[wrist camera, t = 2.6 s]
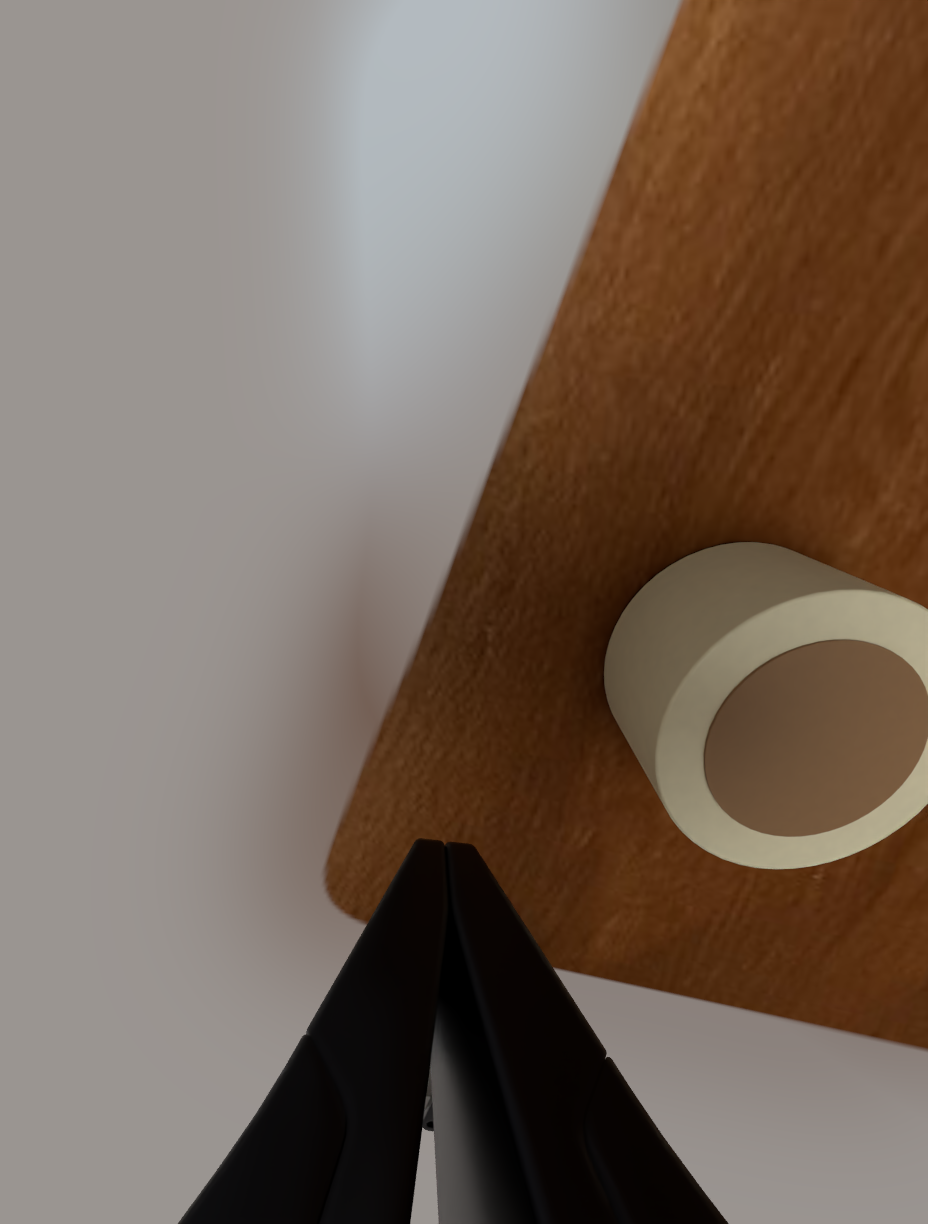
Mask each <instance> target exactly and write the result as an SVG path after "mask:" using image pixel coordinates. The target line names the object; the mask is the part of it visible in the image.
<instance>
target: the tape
mask: <svg viewBox="0 0 928 1224" xmlns="http://www.w3.org/2000/svg"><path fill="white" fill-rule="evenodd" d="M604 684H605V691H606V696H607V701H608V704H609V706H610V709H611V712H612V714H613V716H614V718H615V720H616V721H617V723H618V725H619V727H620V729H621V730H622V732H623V734H624V736H625V738H626V739H627V741H628V743H629V745H630V746H631V748H632V750H633V752H634V754H635V755H636V757H637V759H638V761H639V762H640V764H641V766H642V768H643V770H644V771H645V773H646V775H647V777H648V778H649V780H650V782H651V784H652V786H653V787H654V789H655V791H656V793H657V794H658V796H659V798H660V800H661V802H662V803H663V805H664V807H665V809H666V810H667V812H668V814H669V816H670V818H671V819H672V820H673V821H674V823H675V824H676V825H677V827H678V828H679V829H680V830H681V831H682V832H683V833H684V834H685V835H686V836H687V837H688V838H689V839H690V840H691V841H693V842H694V843H695V844H697V845H698V846H700V847H701V848H703V849H704V850H706V851H707V852H709V853H711V854H714V855H716V856H718V857H720V858H722V859H724V860H727V861H730V862H733V863H737V864H740V865H745V866H750V867H755V868H766V869H794V868H802V867H809V866H815V865H819V864H823V863H827V862H832V861H835V860H837V859H840V858H843V857H846V856H849V855H852V854H854V853H856V852H859V851H861V850H863V849H865V848H868V847H870V846H871V845H873V844H875V843H877V842H879V841H880V840H882V839H884V838H886V837H887V836H889V835H890V834H892V833H893V832H895V831H896V830H897V829H899V828H900V827H902V826H903V825H904V824H906V823H907V822H908V821H909V820H910V819H912V818H913V817H914V816H915V815H916V814H918V813H919V812H920V811H921V810H922V809H923V808H924V807H925V806H926V805H927V804H928V609H926V608H925V607H923V606H922V605H920V604H918V603H915V602H913V601H911V600H909V599H906V598H904V597H902V596H900V595H897V594H895V593H892V592H890V591H888V590H885V589H883V588H880V587H878V586H876V585H873V584H871V583H869V582H866V581H864V580H861V579H859V578H857V577H854V576H852V575H849V574H847V573H845V572H842V571H840V570H838V569H835V568H833V567H830V566H828V565H826V564H823V563H821V562H819V561H816V560H814V559H811V558H809V557H807V556H804V555H802V554H799V553H797V552H795V551H792V550H790V549H787V548H784V547H780V546H777V545H773V544H766V543H758V542H738V543H730V544H723V545H718V546H715V547H711V548H707V549H704V550H701V551H699V552H696V553H694V554H691V555H688V556H686V557H684V558H683V559H681V560H679V561H677V562H675V563H673V564H671V565H670V566H669V567H667V568H666V569H664V570H663V571H661V572H660V573H658V574H657V575H656V576H655V577H654V578H652V579H651V580H650V581H649V582H648V583H647V584H646V585H644V586H643V588H642V589H641V590H640V591H639V592H638V593H637V594H636V595H635V596H634V598H633V599H632V600H631V601H630V603H629V604H628V606H627V607H626V609H625V610H624V611H623V613H622V615H621V616H620V618H619V620H618V622H617V624H616V626H615V628H614V631H613V633H612V636H611V638H610V641H609V644H608V648H607V653H606V657H605V666H604Z"/></svg>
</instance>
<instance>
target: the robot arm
mask: <svg viewBox="0 0 928 1224" xmlns="http://www.w3.org/2000/svg"><path fill="white" fill-rule="evenodd" d="M605 1057H606V1050H605V1048H604V1047H603V1045H602V1044H601V1042H600V1040H599V1039H598V1037H597V1036H596V1034H595V1033H594V1031H593V1030H592V1028H591V1026H590V1025H589V1023H588V1022H587V1020H586V1019H585V1017H584V1016H583V1014H582V1013H581V1011H580V1009H579V1008H578V1006H577V1005H576V1003H575V1002H574V1000H573V998H572V997H571V995H570V994H569V992H568V991H567V989H566V988H565V986H564V985H563V983H562V981H561V980H560V978H559V977H558V975H557V974H556V972H555V970H554V969H553V967H552V966H551V964H550V963H549V961H548V960H547V958H546V957H545V955H544V953H543V952H542V950H541V949H540V947H539V946H538V944H537V943H536V941H535V939H534V938H533V936H532V935H531V933H530V932H529V930H528V929H527V927H526V925H525V924H524V922H523V921H522V919H521V918H520V916H519V915H518V913H517V911H516V910H515V908H514V907H513V905H512V904H511V902H510V901H509V899H508V897H507V896H506V894H505V893H504V891H503V890H502V888H501V887H500V885H499V883H498V882H497V880H496V879H495V877H494V876H493V874H492V873H491V871H490V869H489V868H488V866H487V865H486V863H485V862H484V860H483V859H482V857H481V855H480V854H479V852H478V851H477V849H476V848H475V847H474V846H473V845H472V844H468V843H459V842H447V843H446V844H445V845H444V843H443V842H442V841H440V840H432V839H422V838H419V839H417V840H416V841H415V842H414V844H413V845H412V847H411V849H410V851H409V852H408V854H407V856H406V858H405V859H404V861H403V863H402V865H401V866H400V868H399V870H398V872H397V873H396V875H395V877H394V879H393V880H392V882H391V884H390V886H389V887H388V889H387V891H386V893H385V894H384V896H383V898H382V900H381V901H380V903H379V905H378V906H377V908H376V910H375V912H374V913H373V915H372V917H371V919H370V920H369V922H368V924H367V926H366V927H365V929H364V931H363V933H362V934H361V936H360V938H359V940H358V941H357V943H356V945H355V947H354V949H353V950H352V952H351V954H350V955H349V957H348V959H347V961H346V962H345V964H344V966H343V968H342V969H341V971H340V973H339V975H338V976H337V978H336V980H335V981H334V983H333V985H332V987H331V989H330V990H329V992H328V994H327V995H326V997H325V999H324V1001H323V1002H322V1004H321V1006H320V1008H319V1009H318V1011H317V1013H316V1015H315V1017H314V1018H313V1020H312V1022H311V1023H310V1025H309V1027H308V1029H307V1032H306V1035H304V1036H303V1037H302V1038H301V1040H300V1042H299V1043H298V1045H297V1047H296V1049H295V1051H294V1052H293V1054H292V1056H291V1057H290V1059H289V1061H288V1063H287V1064H286V1066H285V1068H284V1070H283V1071H282V1073H281V1074H280V1076H279V1077H278V1079H277V1081H276V1083H275V1084H274V1086H273V1087H272V1089H271V1090H270V1092H269V1094H268V1095H267V1097H266V1099H265V1100H264V1102H263V1103H262V1105H261V1107H260V1108H259V1110H258V1111H257V1113H256V1115H255V1116H254V1117H253V1119H252V1120H251V1122H250V1123H249V1125H248V1126H247V1128H246V1129H245V1131H244V1132H243V1133H242V1135H241V1136H240V1138H239V1139H238V1141H237V1142H236V1144H235V1145H234V1146H233V1148H232V1149H231V1151H230V1152H229V1154H228V1155H227V1157H226V1158H225V1159H224V1161H223V1162H222V1164H221V1165H220V1167H219V1168H218V1169H217V1171H216V1172H215V1174H214V1175H213V1176H212V1178H211V1179H210V1181H209V1182H208V1183H207V1185H206V1186H205V1187H204V1189H203V1190H202V1191H201V1193H200V1194H199V1196H198V1197H197V1198H196V1200H195V1201H194V1202H193V1204H192V1205H191V1206H190V1208H189V1209H188V1211H187V1212H186V1213H185V1215H184V1216H183V1217H182V1219H181V1220H180V1221H179V1223H178V1224H410V1219H411V1212H412V1204H413V1197H414V1189H415V1181H416V1172H417V1164H418V1157H419V1149H420V1141H421V1132H422V1127H423V1128H424V1129H425V1130H428V1131H434V1140H435V1158H436V1178H437V1195H438V1215H439V1224H728V1222H727V1221H726V1220H725V1219H724V1217H723V1216H722V1215H721V1214H720V1212H719V1211H718V1209H717V1208H716V1207H715V1206H714V1204H713V1203H712V1202H711V1200H710V1199H709V1198H708V1196H707V1195H706V1194H705V1192H704V1191H703V1190H702V1188H701V1187H700V1186H699V1184H698V1183H697V1182H696V1180H695V1179H694V1178H693V1176H692V1175H691V1174H690V1172H689V1171H688V1170H687V1168H686V1167H685V1165H684V1164H683V1163H682V1161H681V1160H680V1159H679V1157H678V1156H677V1155H676V1153H675V1152H674V1151H673V1149H672V1148H671V1146H670V1145H669V1144H668V1142H667V1141H666V1140H665V1138H664V1137H663V1136H662V1134H661V1133H660V1131H659V1130H658V1128H657V1127H656V1125H655V1124H654V1122H653V1121H652V1119H651V1118H650V1116H649V1115H648V1113H647V1112H646V1110H645V1109H644V1108H643V1106H642V1105H641V1103H640V1102H639V1100H638V1099H637V1097H636V1096H635V1094H634V1093H633V1091H632V1090H631V1088H630V1087H629V1085H628V1084H627V1082H626V1081H625V1079H624V1077H623V1076H622V1074H621V1073H620V1072H619V1070H618V1068H617V1066H616V1065H615V1064H614V1062H613V1060H612V1059H611V1058H610V1057H607V1058H605ZM430 1064H431V1083H432V1095H431V1097H430V1099H429V1101H428V1103H427V1105H426V1108H425V1101H426V1093H427V1086H428V1078H429V1070H430ZM424 1109H425V1110H424Z"/></svg>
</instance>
